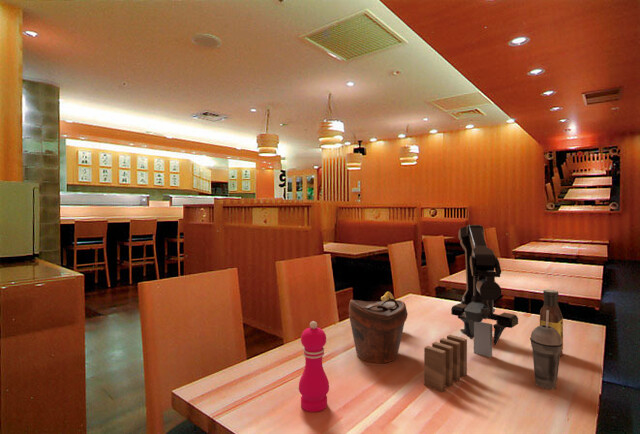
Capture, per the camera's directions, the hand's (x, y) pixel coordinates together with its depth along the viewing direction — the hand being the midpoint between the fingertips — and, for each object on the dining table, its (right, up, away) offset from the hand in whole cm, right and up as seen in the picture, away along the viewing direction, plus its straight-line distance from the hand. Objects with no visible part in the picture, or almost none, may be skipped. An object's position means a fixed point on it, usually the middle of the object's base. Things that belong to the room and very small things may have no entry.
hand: (482, 341), depth 113 cm
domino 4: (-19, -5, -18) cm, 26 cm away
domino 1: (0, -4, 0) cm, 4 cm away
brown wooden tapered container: (-33, -5, +1) cm, 33 cm away
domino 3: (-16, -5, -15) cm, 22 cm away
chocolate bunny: (-26, -4, +22) cm, 34 cm away
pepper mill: (-53, -5, -28) cm, 60 cm away
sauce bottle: (+22, -4, +1) cm, 22 cm away
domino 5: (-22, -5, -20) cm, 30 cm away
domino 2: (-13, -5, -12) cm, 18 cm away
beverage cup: (+8, -5, -19) cm, 21 cm away
